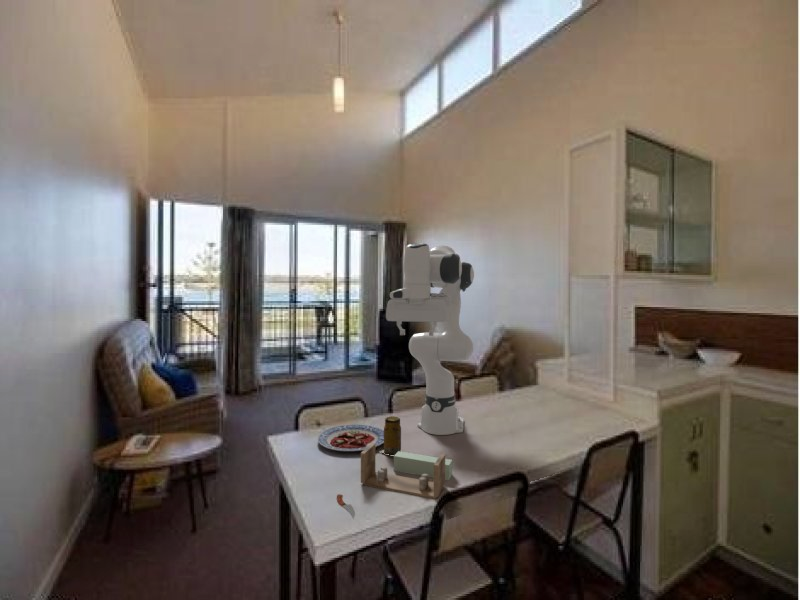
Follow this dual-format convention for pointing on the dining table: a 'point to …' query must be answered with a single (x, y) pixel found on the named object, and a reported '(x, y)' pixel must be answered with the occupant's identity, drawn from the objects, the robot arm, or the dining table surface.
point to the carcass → (398, 482)
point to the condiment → (392, 436)
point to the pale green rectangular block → (419, 464)
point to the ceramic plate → (351, 437)
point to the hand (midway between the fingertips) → (416, 335)
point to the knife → (346, 506)
